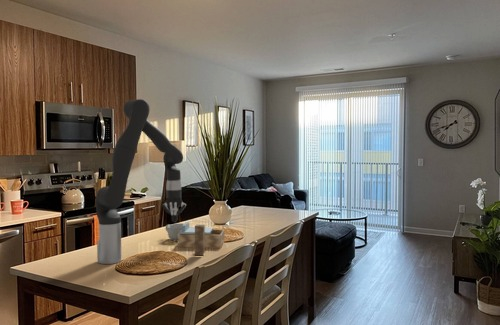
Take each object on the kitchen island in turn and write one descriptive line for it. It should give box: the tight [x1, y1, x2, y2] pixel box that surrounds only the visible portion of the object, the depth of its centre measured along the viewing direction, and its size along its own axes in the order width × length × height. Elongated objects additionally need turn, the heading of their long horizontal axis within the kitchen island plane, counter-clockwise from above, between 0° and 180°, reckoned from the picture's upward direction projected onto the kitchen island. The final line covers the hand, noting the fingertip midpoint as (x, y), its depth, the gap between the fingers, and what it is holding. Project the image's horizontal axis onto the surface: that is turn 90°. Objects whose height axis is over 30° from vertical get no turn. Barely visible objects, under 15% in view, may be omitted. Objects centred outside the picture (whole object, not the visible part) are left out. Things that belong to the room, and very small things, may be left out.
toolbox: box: [177, 228, 226, 249], centre depth 193 cm, size 22×13×7 cm, turn 87°
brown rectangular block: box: [194, 224, 206, 257], centre depth 176 cm, size 4×4×14 cm
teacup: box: [165, 222, 184, 242], centre depth 207 cm, size 14×11×8 cm
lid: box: [180, 221, 214, 234], centre depth 193 cm, size 15×13×4 cm
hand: (174, 221), depth 194 cm, fingers closed
